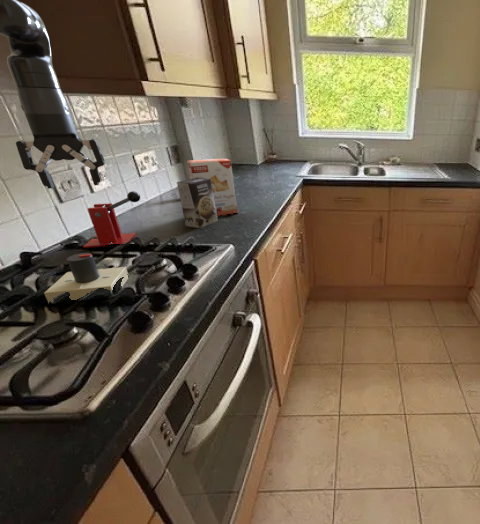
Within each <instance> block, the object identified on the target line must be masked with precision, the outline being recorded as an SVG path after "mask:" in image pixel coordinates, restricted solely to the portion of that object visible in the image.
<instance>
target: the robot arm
mask: <svg viewBox="0 0 480 524" xmlns="http://www.w3.org/2000/svg"><path fill="white" fill-rule="evenodd" d="M0 35H1V36H4V37H6V38H7V42H8V45H9V50H10V54H9V55H8V56H7V58H6V63H7V67H8V70H9V72H10V75H11V78H12V81H13V83H14V86H15V89H16V92H17V96H18V101H19V103H20V107H21V109H22V111H23V113H24V116H25V118H26V122H27V125H28V126H29V129H30V131H31V135H32V136H33V140H31V141H30V140H28V141H27V140H24V139H20V140H18V141H16V142H15V145H16V148H17V149H16V150H17V151H18V155H19V157H20V160H21V161H20V162H21V164H22V166H23V169H24V170H27V171H29V170H30V171H34V172H36V173H37V174H38V176H39V178H40V181H41V184H42V185H43V186H44V187H46V188H47V189H48V190H49V189H54V188H55V184H54V183H53V180H52V179H53V178H52V177H51V174H50V172H49V170H47V168H48V166H49V164H50V163H51V161H52V160H53V161H55V162H57V161H63V160H65V161H73V160H78V161H79V162H80V163H82V164H84V165H85V166H86V167H87V168H88V169H89V170H88V171H89V174H90V177H91V179H92V180H91V181H92V182H93V183H92V184H93V185H94V186H99V185H100V183H101V182H102V177H101V174H100V171H99V168H100V167H103V166H104V165H105V164H106V160H105V157H104V155H103V152H102V150H101V147H100V144H99V142H98V140H97V139H96V138H91V139H87V140H86V139H85V140H82V139H81V138H80V136H79V134H78V131H77V128H76V125H75V122H74V119H73V117H72V112H71V110H70V107H69V104H68V102H67V99H66V97H65V95H64V93H63V90H62V89H61V85H60V82H59V79H58V77H57V76H58V75H57V73H56V70H55V69H54V65H53V56H52V55H53V54H52V49H51V43H50V37H49V33H48V30H47V28H46V25H45V23H44V21H43V19H42V17H41V16H40V15H39V13H38V12H37V11H36V10H35V9H33V8H32V7H30V5H28V4H26V3H24V2H22V1H21V0H0ZM84 146H85V147H86V148H87V149H88V150H90V151H92V154H93V157H94V159H95V161H93V160H92V159H91V158H89V156H87V155H86V154H85V153H84V152H82V149H83V148H84ZM34 147H35V148H36V149H37V150H38V151H40V152H41V153H42V155H41V157H40V159H39V160H38V162H37V163H34V159H33V157H32V153H31V152H32V151H33V149H34Z"/></svg>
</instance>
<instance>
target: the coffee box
mask: <svg viewBox="0 0 480 524" xmlns="http://www.w3.org/2000/svg"><path fill="white" fill-rule="evenodd" d="M176 184H177V189H178V190H177V191H178V194H179V200H180V204H181V209H182V215H183V218H184V224H185V227H190V228H197V229H201V228H203V227H206V226H209V225H211V224H214V223H216V222H218V221H219V220H218V216H217V212H216V207H215V201H214V195H213V189H212V183H211V179H207V178H194V179H191V178H189V179H185V180H179V181H177V182H176Z"/></svg>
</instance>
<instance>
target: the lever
mask: <svg viewBox="0 0 480 524" xmlns="http://www.w3.org/2000/svg"><path fill="white" fill-rule="evenodd" d="M139 201H141V195H140V193H139V192H137V191H133V190H132V191H129V192H127V195H126V198H124V199H122V200H120V201H117V202H115V203H112V205H111V206H109V207H107V209H108V213H110V210H112V209H114V210H115V209H116V208H118V207H120V206H122V205H124V204H127V203H128V202H131V203H138V202H139ZM102 207H106V206H105V205H104V206H102Z"/></svg>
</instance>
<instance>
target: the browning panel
mask: <svg viewBox="0 0 480 524" xmlns="http://www.w3.org/2000/svg"><path fill="white" fill-rule="evenodd" d="M97 269H98V272H99V275H100V277H99V278H98V279H96V280H94V281H91V282H87V283H77V282H76V281H75V279H74V276H73V274H72V272H71V271H66V272H65V273H64V274H63V275H62V276H61V277H60V278H59V279H58V280H57V281H55V283H53V284H52V285H51V286H50V287H49V288H47V290H45V291H44V292H43V294H44V296H45V299H46V301H47V303H48V304H49V302H50V301H51V300H52V299H53V298H55V297H57V296H58V295H60V294H63V293H65V292H69V293H70V296H69V298H70V299H71V300H77V299H79V298H81V297H83V296H85V295H86V294H87V293H90V292H91V291H94V290H96V289H98V288H104V289H107V290H110V291H112V290H113V287H114V285H115V284H116V282H117V281H118V280H119V279H120V278H122V277H124V278H123V279H122V282H121V286H122V287H123V286H124V285H125V284H126V283H127V281H128V279H129V278H128V275H129V272H128V270H127V266H121V267H120V266H119V267H107V268H97ZM127 274H128V275H127Z"/></svg>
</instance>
